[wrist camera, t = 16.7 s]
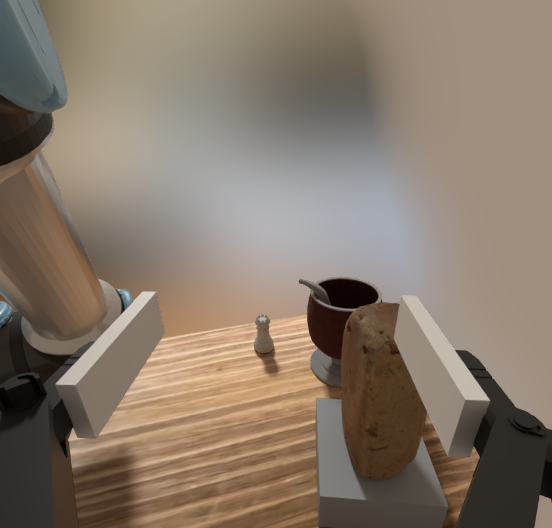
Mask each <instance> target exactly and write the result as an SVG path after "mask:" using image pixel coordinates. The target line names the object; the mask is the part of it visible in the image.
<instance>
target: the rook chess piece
mask: <svg viewBox="0 0 552 528" xmlns="http://www.w3.org/2000/svg"><path fill="white" fill-rule="evenodd" d="M255 323H256V325H257V330H258V333H257V337H256V340H255V341H254V349H255V350H256V351H257V352H259V353H268V352H270V351H271V350H272V349H273V347H274V344H273V340H272V338H271V337H270V335H269V330H268V329H269V325H268V324H269V323H270V320H269V319H268V317H267V315H265V317H264V316H263V315H261V317H260V316H258V317H257V319H256V321H255Z"/></svg>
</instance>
